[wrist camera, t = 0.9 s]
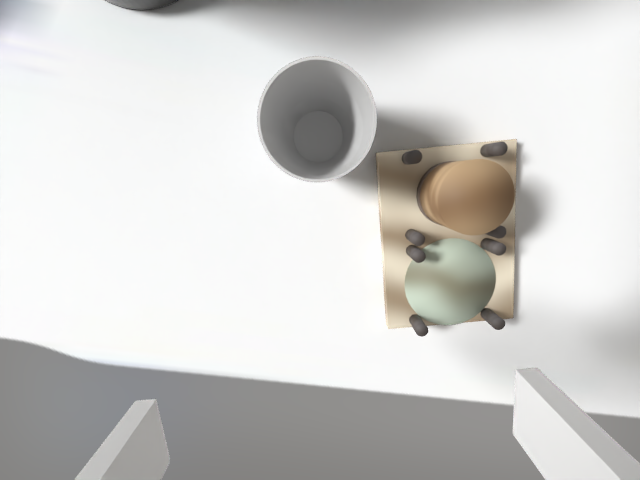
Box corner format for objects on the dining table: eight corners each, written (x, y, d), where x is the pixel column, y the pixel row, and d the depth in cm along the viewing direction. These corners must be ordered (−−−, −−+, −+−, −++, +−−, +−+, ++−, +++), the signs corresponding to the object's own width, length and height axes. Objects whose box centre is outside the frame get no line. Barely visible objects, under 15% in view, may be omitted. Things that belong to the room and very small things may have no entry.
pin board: (375, 153, 33) (382, 150, 29) (509, 140, 32) (533, 135, 29) (386, 324, 36) (393, 341, 32) (506, 314, 36) (528, 330, 32)
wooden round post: (415, 164, 32) (436, 162, 26) (479, 158, 31) (516, 154, 26) (417, 227, 33) (438, 239, 27) (479, 222, 33) (514, 232, 27)
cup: (376, 131, 32) (401, 112, 22) (323, 196, 33) (325, 206, 24) (312, 74, 31) (308, 28, 21) (259, 143, 32) (233, 130, 23)
